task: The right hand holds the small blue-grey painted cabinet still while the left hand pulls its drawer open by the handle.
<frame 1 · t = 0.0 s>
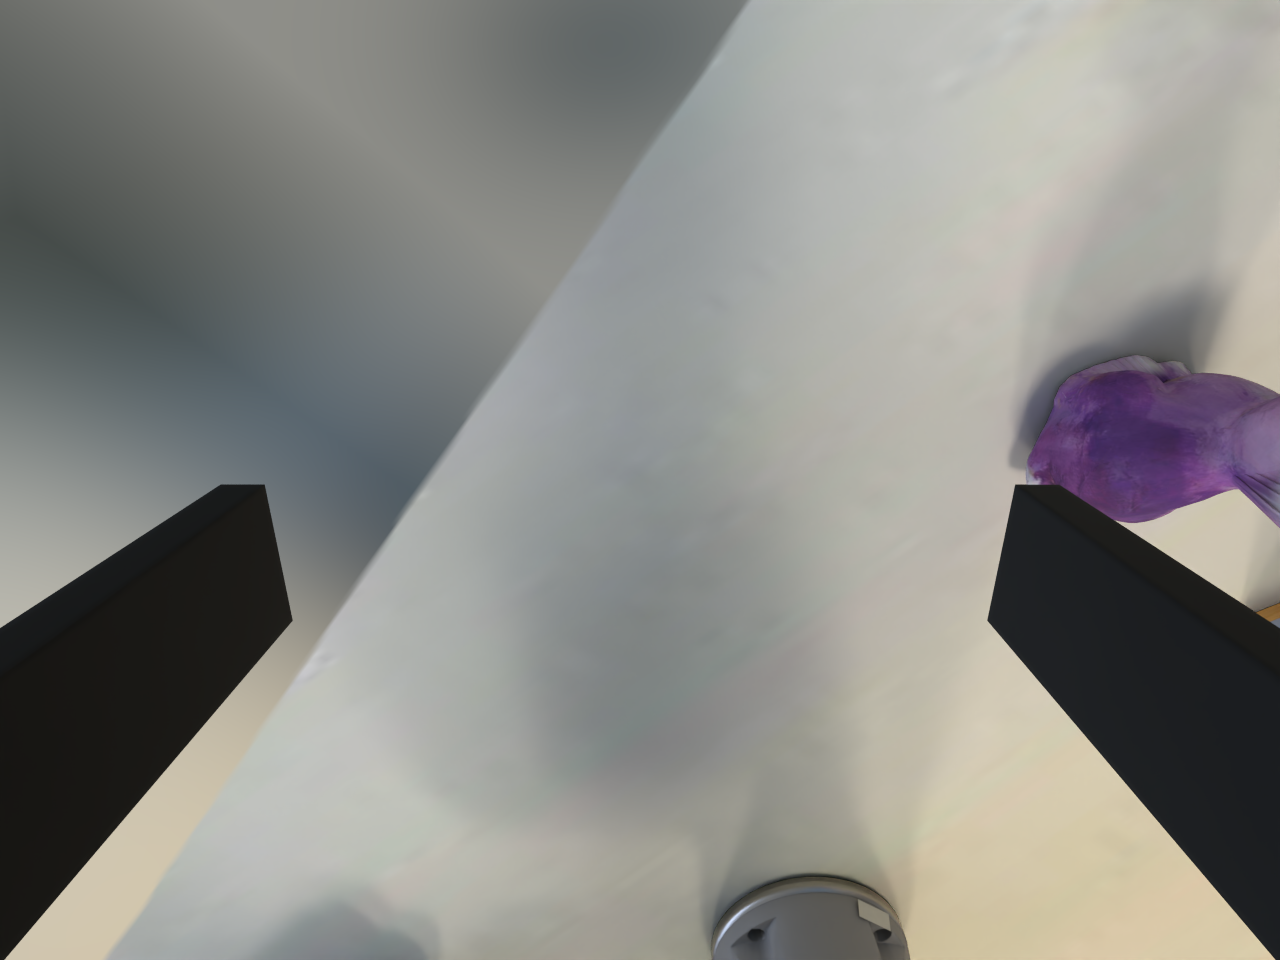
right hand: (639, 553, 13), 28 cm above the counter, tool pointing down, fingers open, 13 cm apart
figurine: (1112, 413, 41), on the counter
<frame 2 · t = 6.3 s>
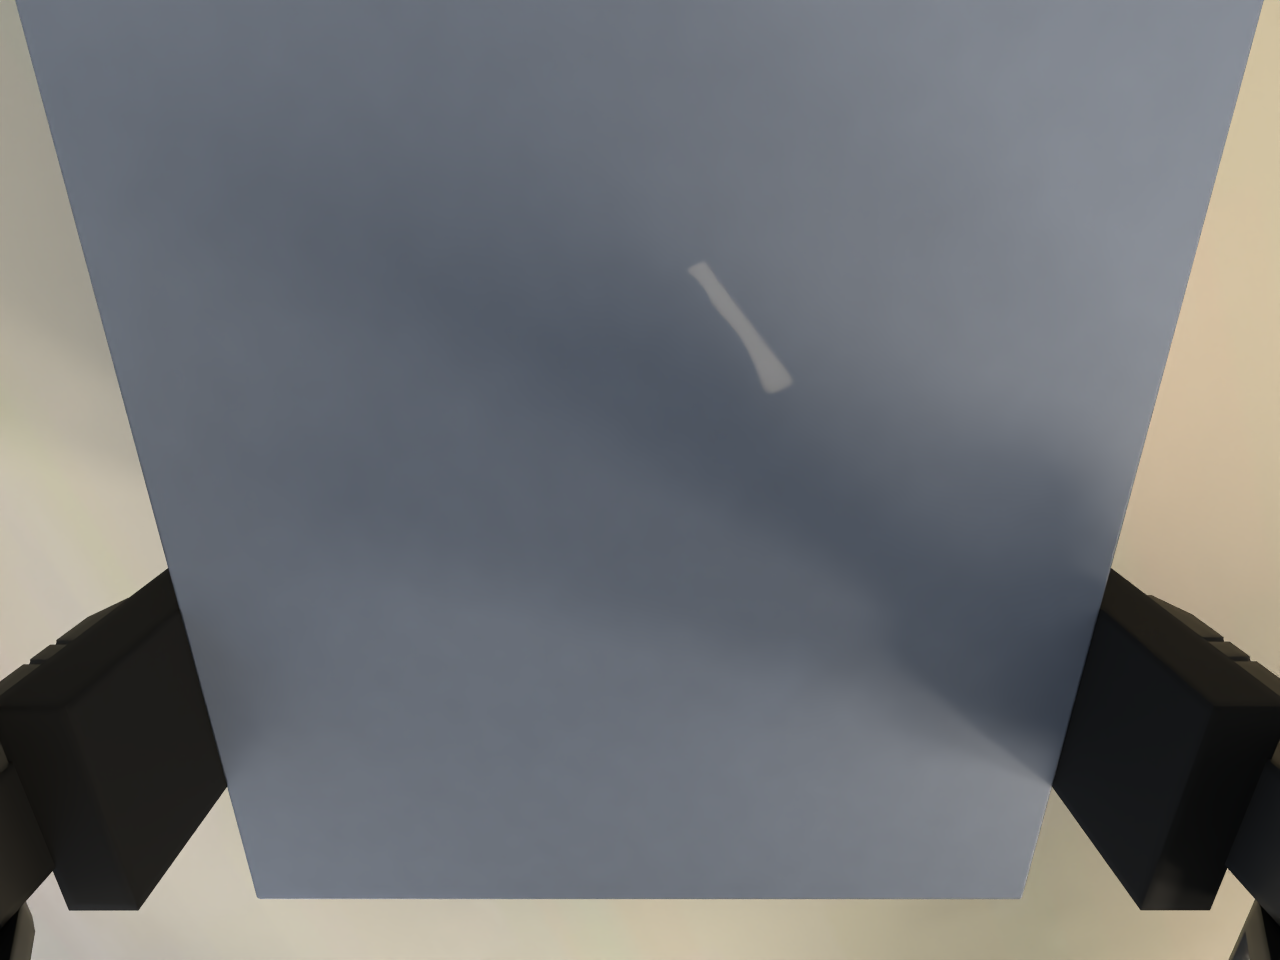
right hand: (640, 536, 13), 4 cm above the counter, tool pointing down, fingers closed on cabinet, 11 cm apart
cabinet: (639, 122, 15), on the counter, touching right hand
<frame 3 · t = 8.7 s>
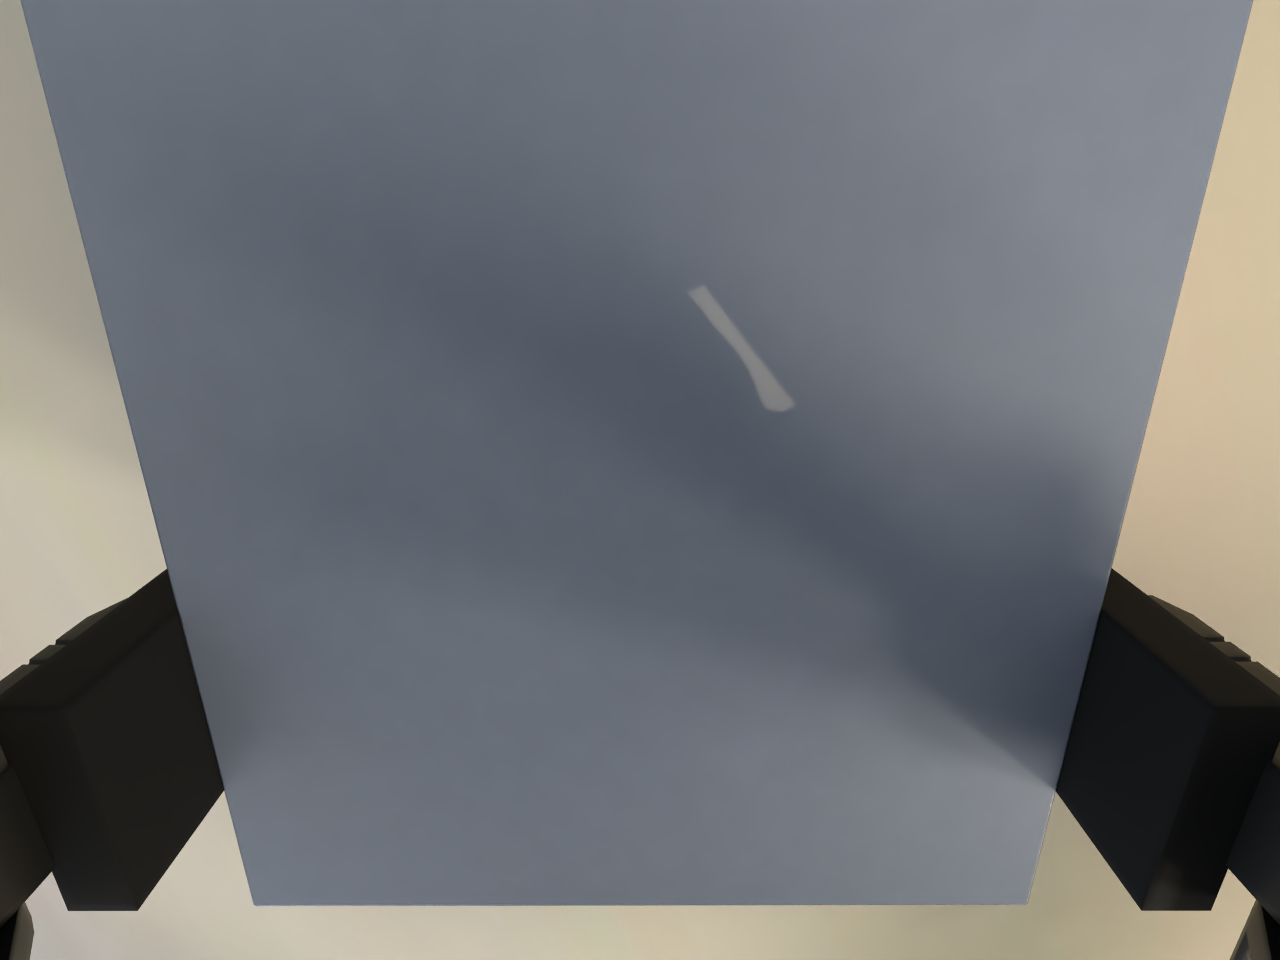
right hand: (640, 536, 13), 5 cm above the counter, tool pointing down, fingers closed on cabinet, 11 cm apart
cabinet: (638, 131, 15), on the counter, touching right hand
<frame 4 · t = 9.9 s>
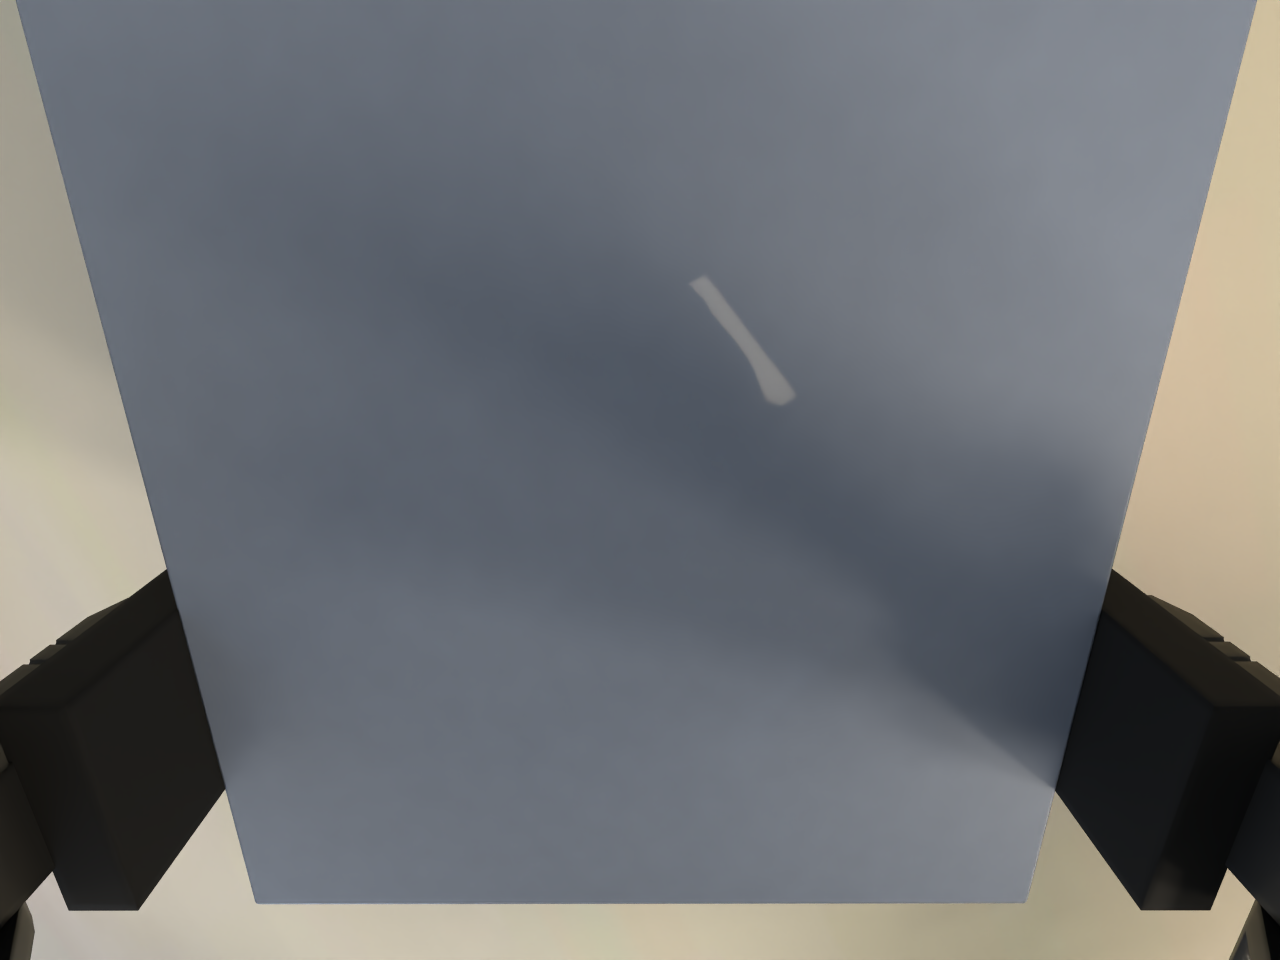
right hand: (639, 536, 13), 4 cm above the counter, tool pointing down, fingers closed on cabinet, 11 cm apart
cabinet: (638, 127, 15), on the counter, touching right hand
when the right hand's fingers open (4 cm above the counter, at t = 11.7 s): cabinet stays where it is, on the counter.
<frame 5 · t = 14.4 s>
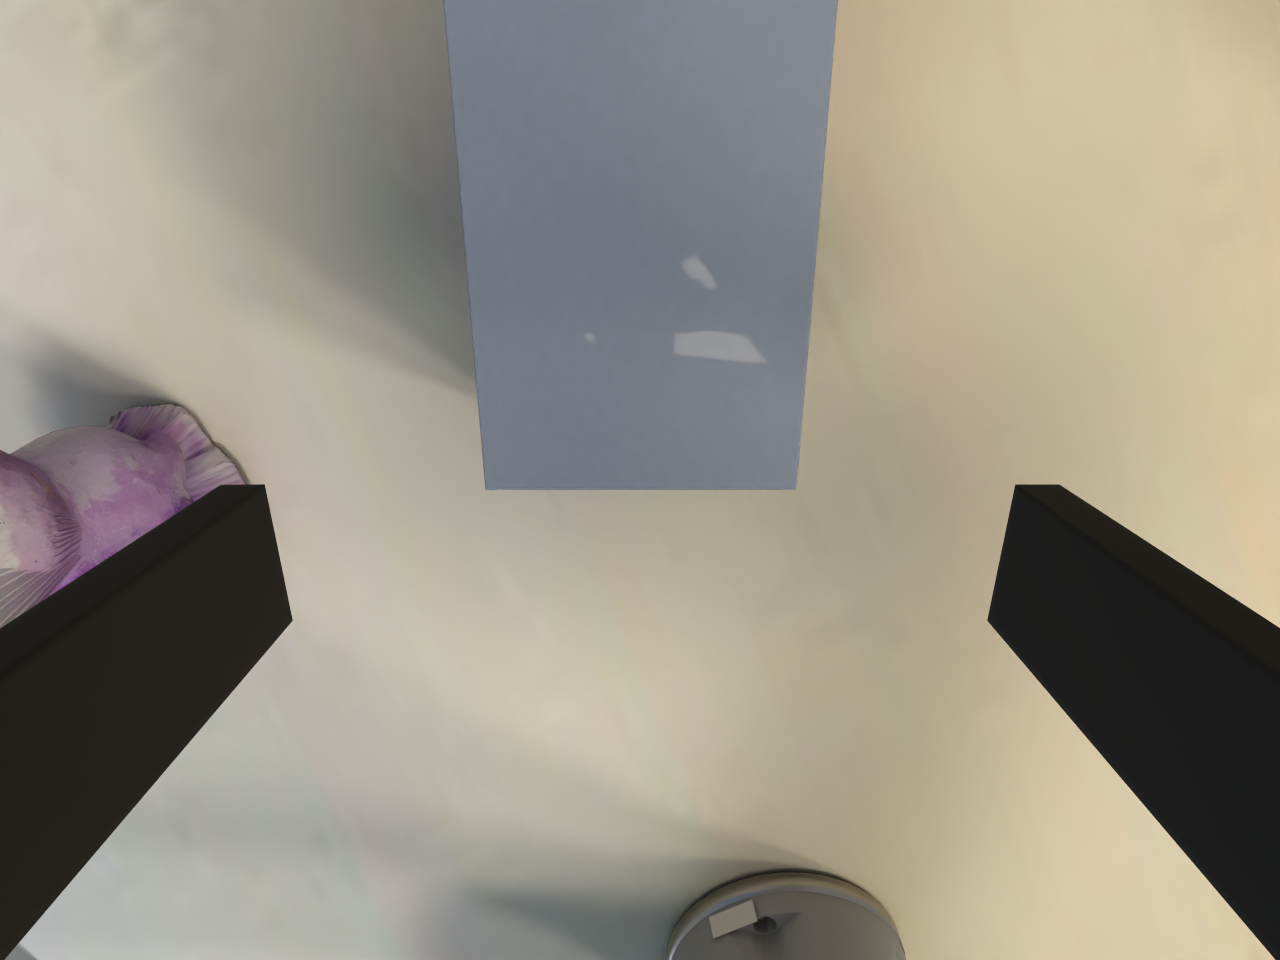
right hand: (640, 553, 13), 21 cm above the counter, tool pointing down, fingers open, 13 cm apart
cabinet: (640, 165, 29), on the counter
figurine: (170, 490, 34), on the counter
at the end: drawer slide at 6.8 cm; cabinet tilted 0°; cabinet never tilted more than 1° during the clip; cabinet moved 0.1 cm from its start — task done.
